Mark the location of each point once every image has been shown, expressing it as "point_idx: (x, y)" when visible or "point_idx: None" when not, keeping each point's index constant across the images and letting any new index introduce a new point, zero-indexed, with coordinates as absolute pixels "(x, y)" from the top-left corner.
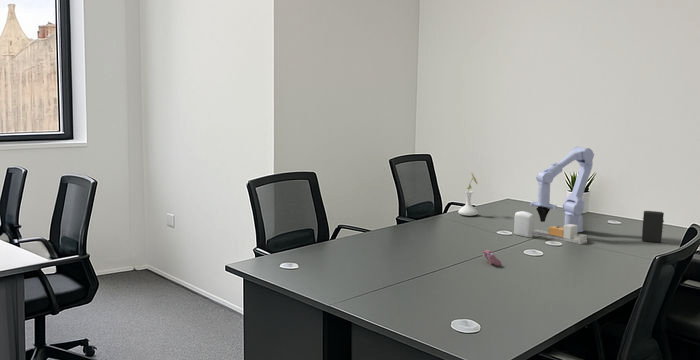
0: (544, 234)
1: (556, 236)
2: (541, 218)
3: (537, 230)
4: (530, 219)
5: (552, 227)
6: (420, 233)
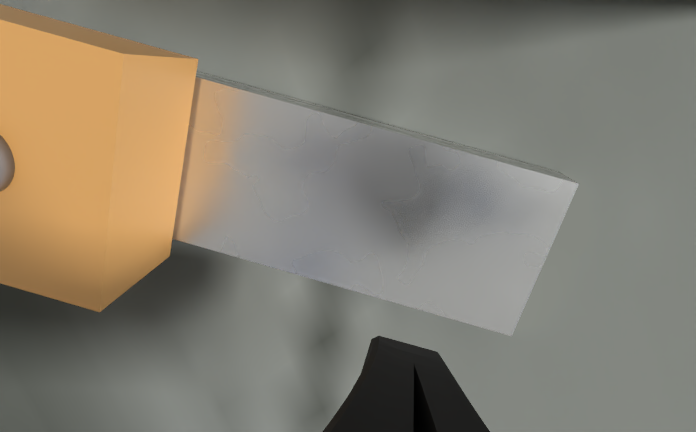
0: (291, 100)
1: None
2: (410, 382)
3: (470, 256)
4: None
5: (52, 86)
6: None
